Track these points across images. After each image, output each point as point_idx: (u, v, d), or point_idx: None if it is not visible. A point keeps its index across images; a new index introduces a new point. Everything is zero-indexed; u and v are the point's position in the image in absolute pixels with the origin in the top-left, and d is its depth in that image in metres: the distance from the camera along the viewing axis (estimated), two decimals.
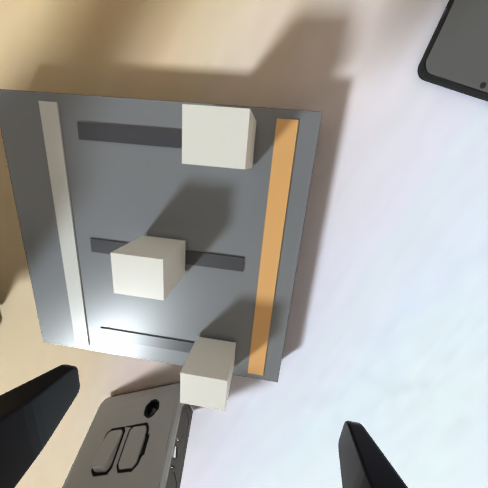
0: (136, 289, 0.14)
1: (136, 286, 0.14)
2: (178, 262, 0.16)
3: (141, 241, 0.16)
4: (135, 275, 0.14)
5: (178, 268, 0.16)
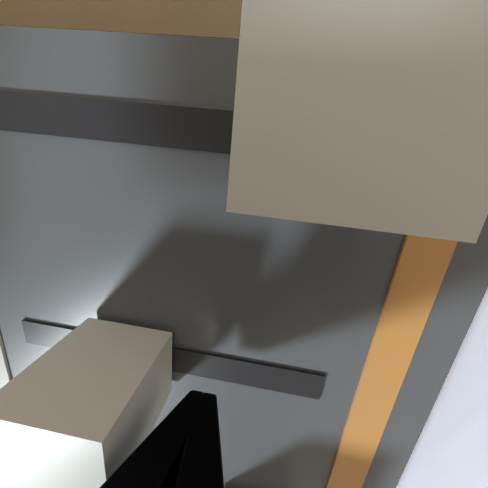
0: None
1: (44, 483, 0.06)
2: (154, 389, 0.08)
3: (76, 344, 0.07)
4: (39, 464, 0.06)
5: (155, 399, 0.08)
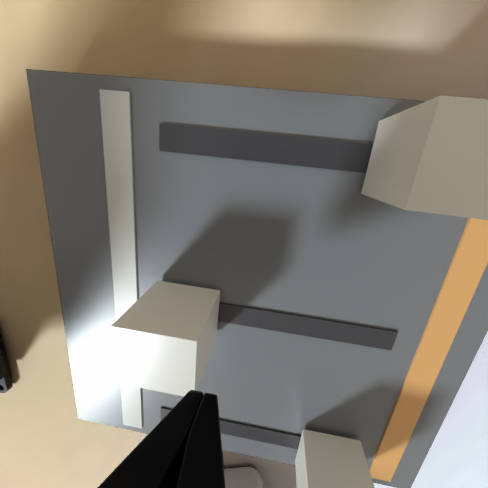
0: (151, 380, 0.09)
1: (151, 376, 0.09)
2: (212, 326, 0.11)
3: (157, 295, 0.11)
4: (150, 361, 0.09)
5: (211, 334, 0.11)
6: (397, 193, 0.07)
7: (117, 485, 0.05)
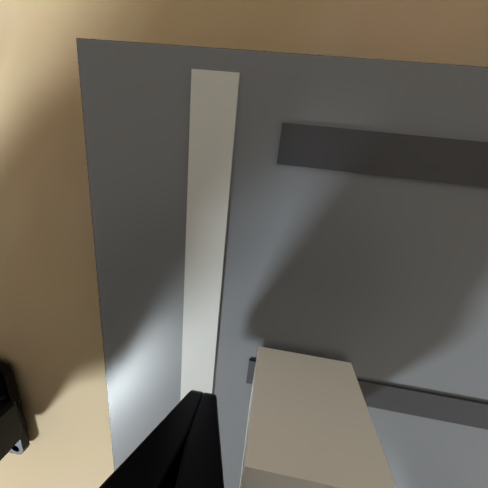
0: None
1: None
2: None
3: (274, 378, 0.07)
4: None
5: None
6: None
7: (118, 485, 0.05)
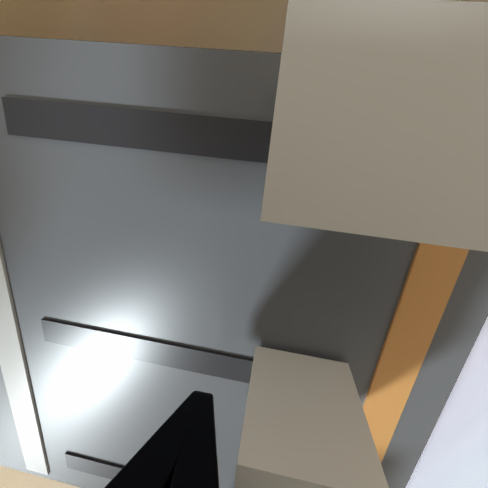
0: None
1: None
2: None
3: (270, 378, 0.07)
4: None
5: None
6: None
7: (122, 486, 0.05)
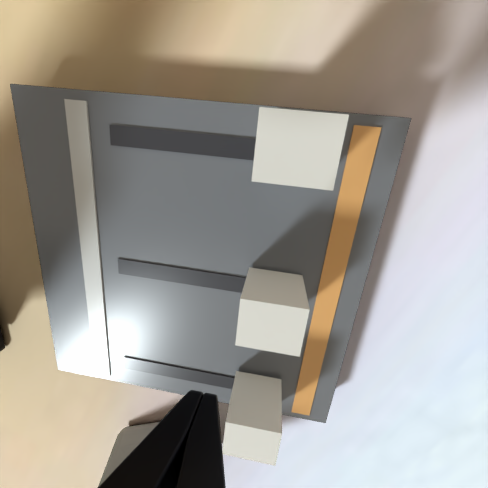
0: (266, 342, 0.12)
1: (266, 339, 0.11)
2: None
3: (257, 277, 0.13)
4: (268, 326, 0.11)
5: None
6: None
7: (117, 485, 0.05)
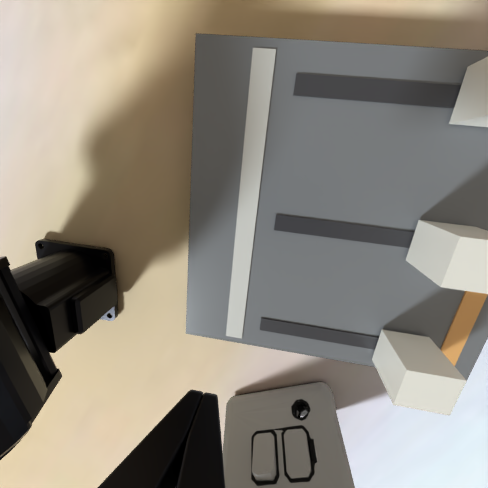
0: (476, 283, 0.12)
1: (478, 279, 0.12)
2: None
3: (442, 225, 0.13)
4: (483, 266, 0.11)
5: None
6: None
7: (117, 485, 0.05)
